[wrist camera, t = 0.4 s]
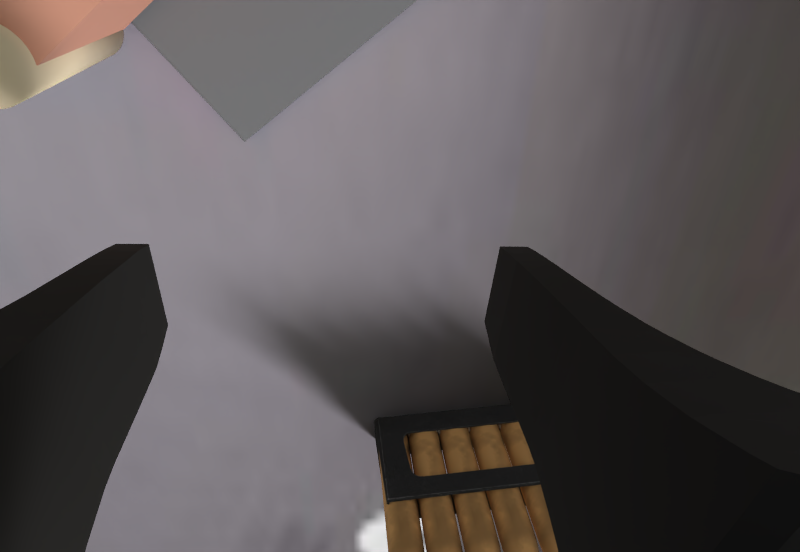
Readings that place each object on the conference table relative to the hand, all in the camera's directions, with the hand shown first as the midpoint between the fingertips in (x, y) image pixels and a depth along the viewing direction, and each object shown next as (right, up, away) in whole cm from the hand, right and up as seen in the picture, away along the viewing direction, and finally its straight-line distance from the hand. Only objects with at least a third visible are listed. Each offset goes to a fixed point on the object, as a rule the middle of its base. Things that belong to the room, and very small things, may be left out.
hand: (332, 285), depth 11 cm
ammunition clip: (+5, -8, +19) cm, 21 cm away
